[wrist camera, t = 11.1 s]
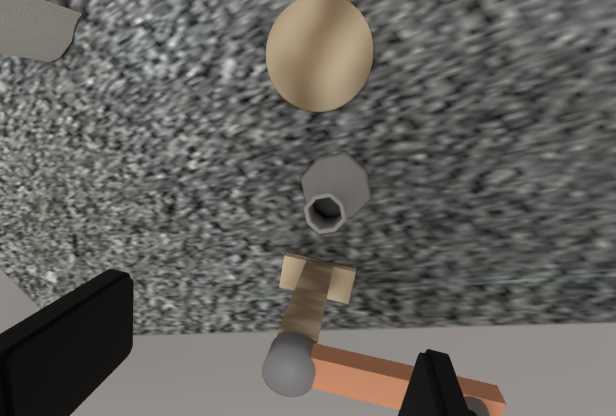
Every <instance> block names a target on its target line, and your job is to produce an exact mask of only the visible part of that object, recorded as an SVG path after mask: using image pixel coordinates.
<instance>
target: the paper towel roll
mask: <svg viewBox="0 0 616 416" xmlns="http://www.w3.org/2000/svg"><path fill="white" fill-rule="evenodd" d="M81 15H82V14H81V13H79V12H76V11H73V10H71V9H68V8H65V7H62V6H60V5H57V4H54V3H52V2H49V1H46V0H0V54H6V55H11V56H17V57H23V58H29V59H34V60H40V61H47V62H51V61H54V60H57V59H59V58H60V57H61V56H62V55H63V53H64V52H65V51H66V49H67V48H68V46H69V45H70V44H71V42H72V38H73V33H74V28H75V25H76V23H77V21H78V18H79V17H80V16H81Z"/></svg>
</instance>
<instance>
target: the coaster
mask: <svg viewBox="0 0 616 416" xmlns="http://www.w3.org/2000/svg"><path fill="white" fill-rule="evenodd" d="M372 61H373V40H372V35H371V32H370V29H369V26H368V24H367V22H366V20H365V18H364V17H363V15H362V14H361V13H360V11H359V10H358V9H357V8H356V7H355V6H354V5H352V4H351V3H350V2H348V1H347V0H296V1H295V2H293V3H292V4H290V5H289V6H288V7H287V8H286V9H285V10H284V11H283V12H282V13H281V14H280V15H279V17H278V18H277V19H276V21H275V23H274V24H273V26H272V29H271V31H270V34H269V37H268V41H267V46H266V63H267V69H268V73H269V76H270V78H271V81H272V83H273V85H274V86H275V88H276V90H277V91H278V92H279V94H280V95H281V96H282V97H283V98H284V99H285V100H286V101H288V102H289V103H290V104H292V105H294V106H296V107H298V108H300V109H303V110H307V111H312V112H325V111H331V110H334V109H337V108H339V107H341V106H343V105H345V104H346V103H348V102H349V101H350V100H352V99H353V98H354V97H355V96H356V95H357V94H358V93H359V91H360V90H361V89H362V87H363V86H364V84H365V82H366V81H367V78H368V76H369V74H370V70H371V67H372Z"/></svg>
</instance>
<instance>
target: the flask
mask: <svg viewBox="0 0 616 416" xmlns="http://www.w3.org/2000/svg"><path fill="white" fill-rule="evenodd" d="M300 179H301V183H302V187H303V192H304V196H305V200H306V205H305V206H304V207H303V209H304V213H305V218H306V222H307V224H308V225H309V226H310V227H311V228H313V229H314V230H315V231H316V232H317V233H318V234H324V233H331V232H336V231H337V230H338V228H339V227H340V226H341V225H342V224H343V223H344V222H345V221H346V220H347V218H350V217H353V216H354V215H355V214H356V213H357V212H358V211H359V210H360V209H361V208H362V207H363V206H364V205H365V204H366V203H367V202H368V201H369V200H370V199H371V198H372V196H371V190H370V185H369V179H368V174H367V170H366V169H365V168H364V167H363V166H361V165H360V164H359V163H358V162H357V161H356V160H355V159H354V158H353V157H351V156H350V155H349V154H348V153H347V152H346V151H345V152H340V153H336V154H331V155H326V156H321V157H318V158H317V159H316V160H315V161H314V162H313V164H312V165H311V166H310V167H309V168H308V169H307V171H306V172H305V173H304V174H303V175H302V176H301V177H300Z"/></svg>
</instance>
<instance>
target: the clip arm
mask: <svg viewBox="0 0 616 416" xmlns="http://www.w3.org/2000/svg"><path fill="white" fill-rule="evenodd" d="M413 369H414V366H410V365H406V364H402V363H398V362H392V361H388V360H385V359H380V358H376V357H371V356H367V355H362V354H359V353H354V352H350V351H346V350H341V349H337V348H332V347H328V346H323V345H319V344H315V343H313V342H312V341H311V340H310V339H309V338H308V337H306V336H304V335H302V334H300V333H295V332H287V333H283V334H280V335H279V336H277V337H276V338H275V339H274V340H273V342H272V344H271V347H270V349H269V352H268V354H267V357H266V359H265V361H264V364H263V367H262V376H263V379H264V381H265V383H266V384H267V386H268V387H269V388H270V389H271V390H273V391H274V392H276V393H277V394H279V395H282V396H286V397H298V396H301V395H304V394H305V393H307V392H308V391H309V390H310V389H311V388H313V389H317V390H321V391H325V392H329V393H333V394H338V395H341V396H345V397H349V398H353V399H357V400H361V401H366V402H369V403H374V404H378V405H382V406H386V407H390V408H394V409H398V410H400V408H401V405H402V402H403V399H404V396H405V393H406V390H407V387H408V384H409V381H410V378H411V375H412V372H413ZM457 379H458V382H459V385H460V387H461V390H462V393H463V396H464V398H465V401H466V404H467V407H468V409H469V410H473V411H474V412H475V413H476V414H477V416H502V413H503V411H504V408H505V406H506V403H505V401H504V399H503V397H502V395H501V393H500V390H499V388H498V387H497V385H492V384H488V383H484V382H479V381H475V380H471V379H467V378H462V377H458V376H457Z"/></svg>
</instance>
